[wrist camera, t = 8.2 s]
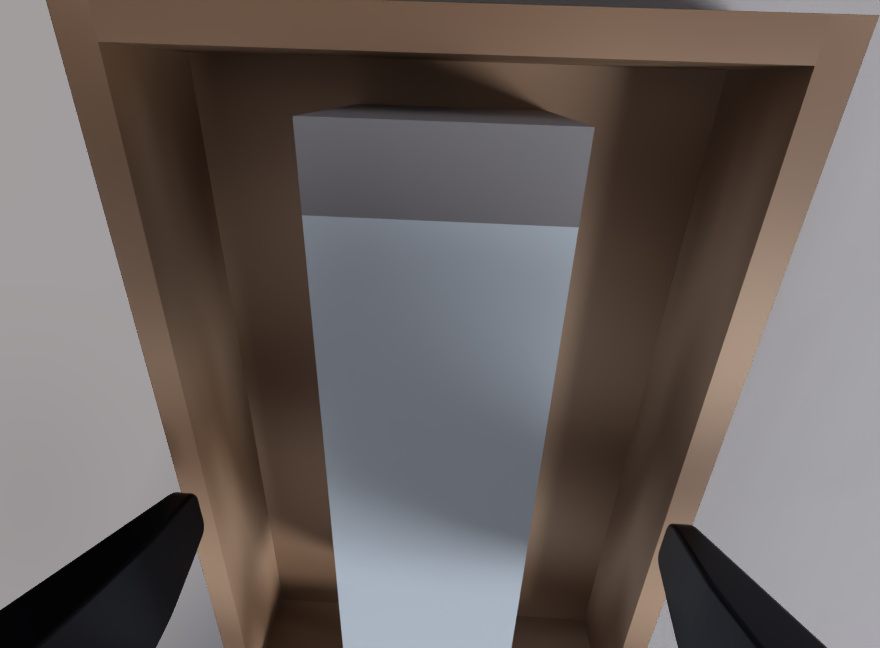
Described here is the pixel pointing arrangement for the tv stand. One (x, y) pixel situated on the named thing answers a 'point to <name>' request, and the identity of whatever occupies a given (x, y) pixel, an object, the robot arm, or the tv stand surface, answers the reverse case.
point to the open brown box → (591, 285)
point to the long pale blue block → (436, 352)
